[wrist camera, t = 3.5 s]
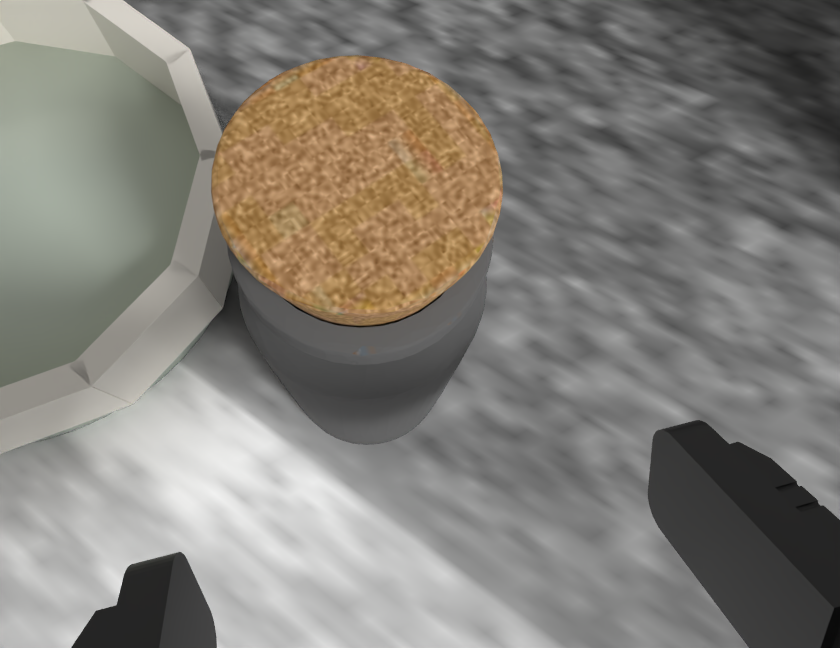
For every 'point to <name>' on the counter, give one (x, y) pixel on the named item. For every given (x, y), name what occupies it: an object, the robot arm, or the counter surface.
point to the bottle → (359, 236)
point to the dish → (99, 212)
